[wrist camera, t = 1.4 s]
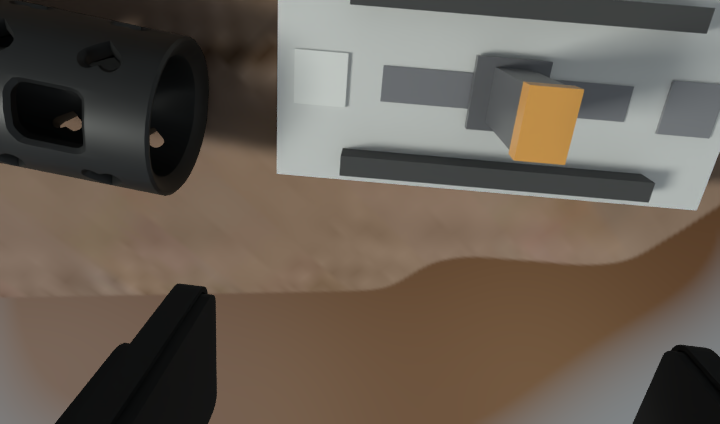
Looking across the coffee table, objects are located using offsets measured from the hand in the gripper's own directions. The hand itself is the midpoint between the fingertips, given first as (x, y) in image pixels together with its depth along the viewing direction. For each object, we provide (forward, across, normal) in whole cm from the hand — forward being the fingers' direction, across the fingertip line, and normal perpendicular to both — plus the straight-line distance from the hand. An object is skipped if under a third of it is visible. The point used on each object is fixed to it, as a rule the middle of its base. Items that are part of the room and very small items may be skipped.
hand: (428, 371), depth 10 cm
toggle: (+20, -5, -3) cm, 21 cm away
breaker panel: (+24, -5, -3) cm, 25 cm away
